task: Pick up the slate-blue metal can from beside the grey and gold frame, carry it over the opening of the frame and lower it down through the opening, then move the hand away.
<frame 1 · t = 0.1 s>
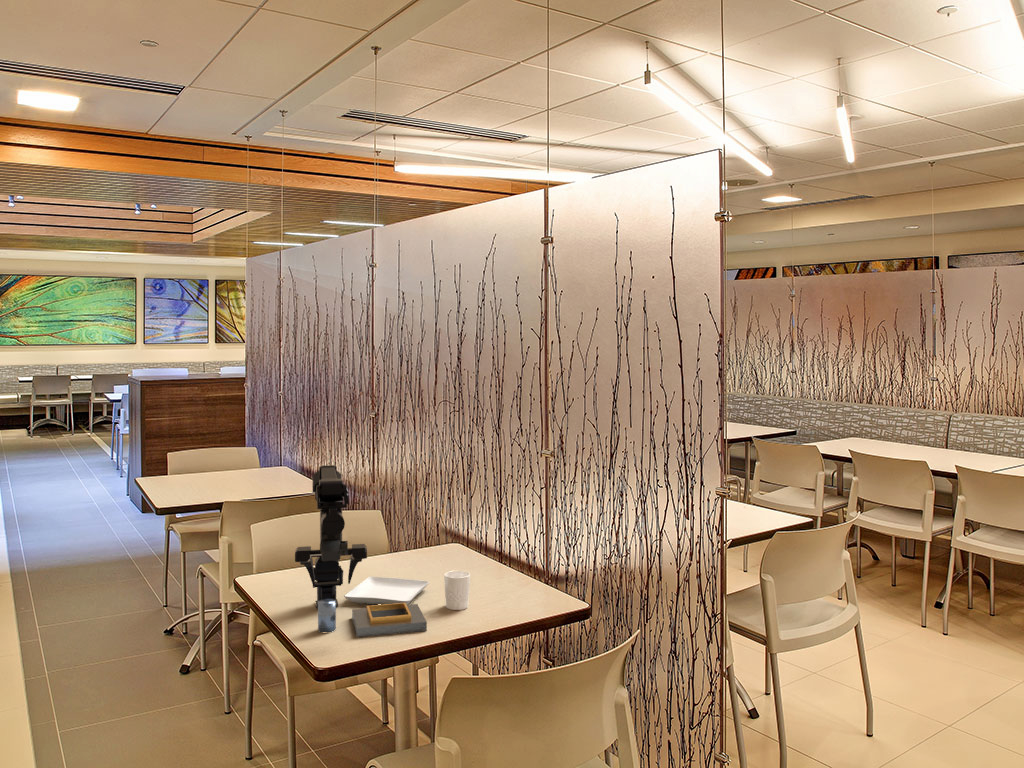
hand: (331, 584, 209), 14 cm above the table, tool pointing down, fingers open, 9 cm apart
white cup: (457, 607, 235), on the table
salad plate: (388, 598, 244), on the table
can: (326, 630, 215), on the table
grey and gold frame: (388, 624, 219), on the table
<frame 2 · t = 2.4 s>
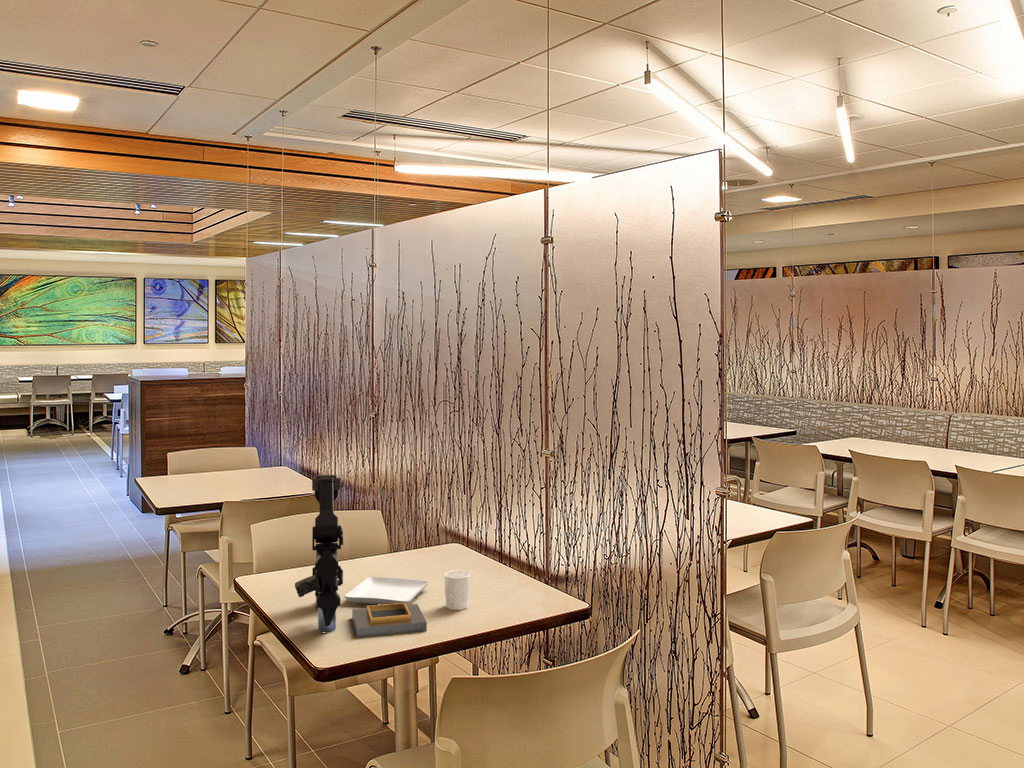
hand: (326, 622, 214), 2 cm above the table, tool pointing down, fingers closed on can, 5 cm apart
can: (326, 630, 215), on the table, touching gripper
everything else where it was.
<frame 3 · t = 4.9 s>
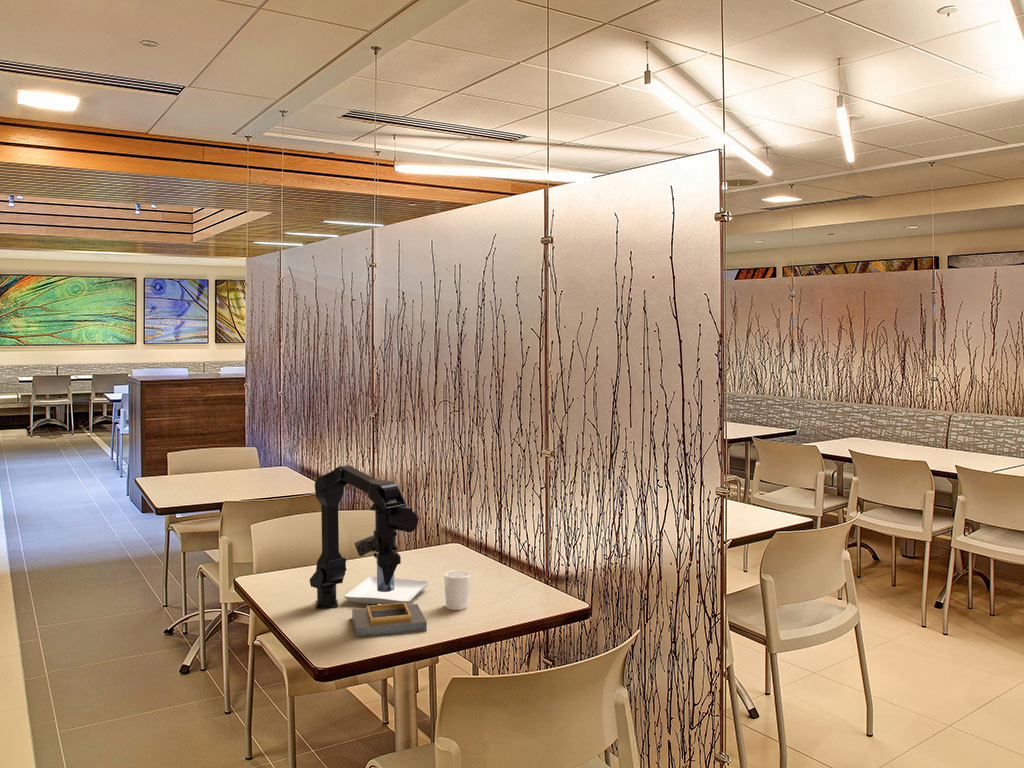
hand: (385, 582, 218), 12 cm above the table, tool pointing down, fingers closed on can, 5 cm apart
can: (385, 589, 218), point 10 cm above the table, touching gripper
everything else where it was.
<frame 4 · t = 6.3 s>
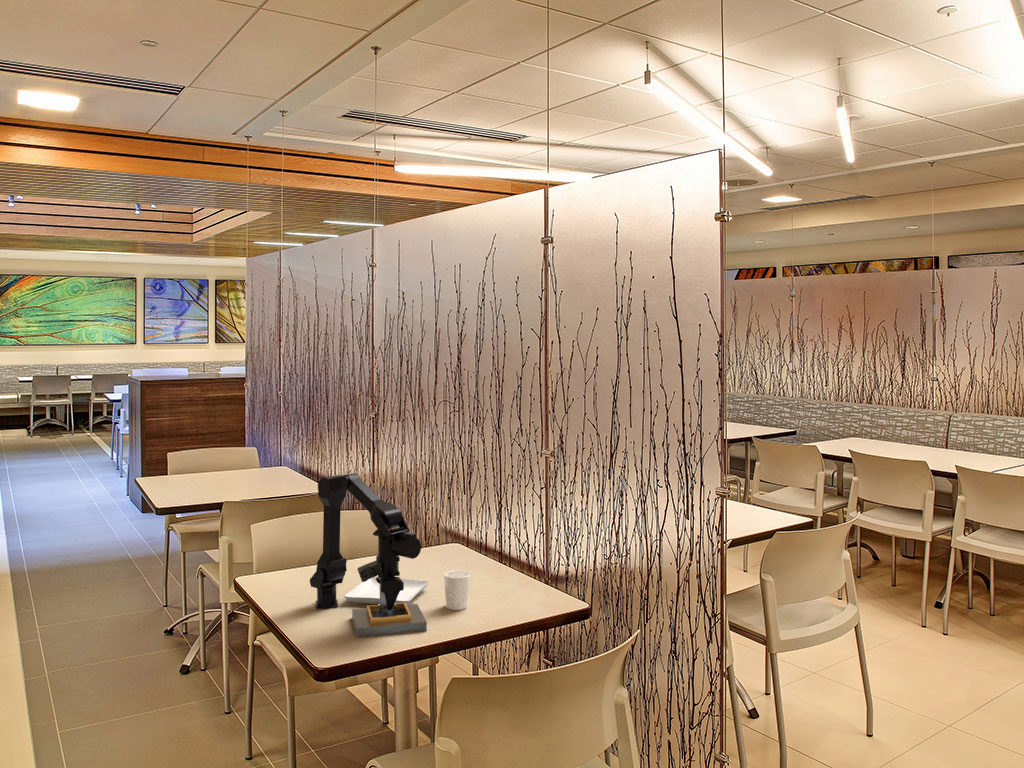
hand: (388, 607, 219), 5 cm above the table, tool pointing down, fingers closed on can, 5 cm apart
can: (388, 614, 219), point 3 cm above the table, touching gripper
everything else where it was.
when the fingers open (4 cm above the table, at t = 7.2 s): can drops 2 cm, resting in grey and gold frame.
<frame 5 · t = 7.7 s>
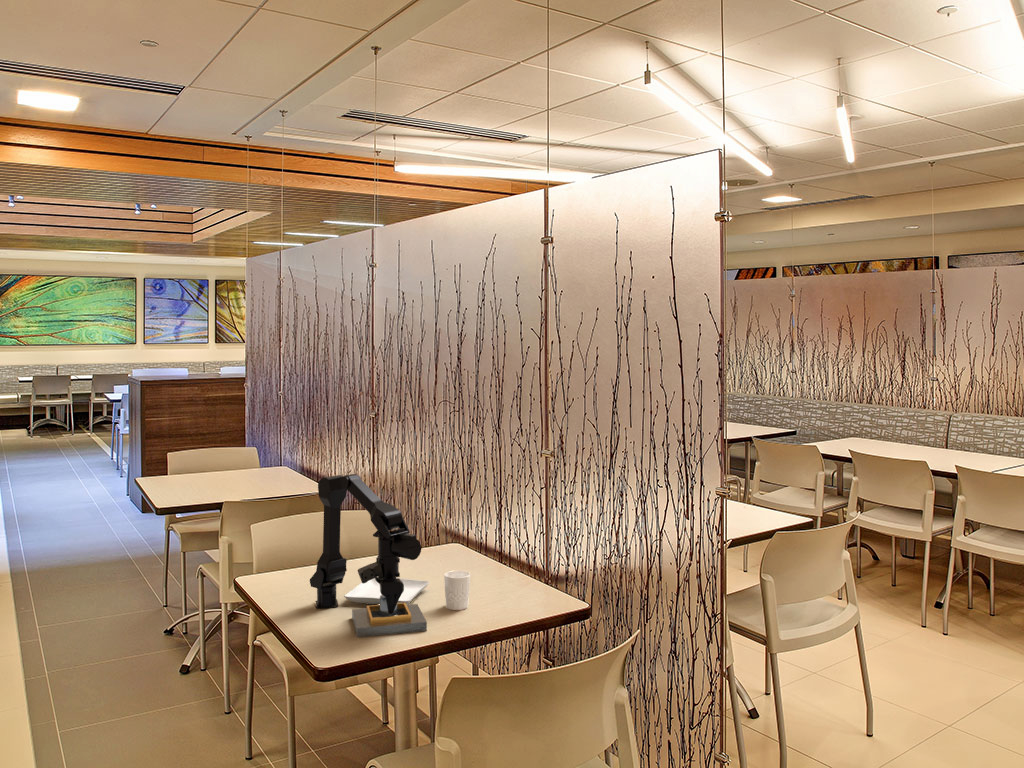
hand: (388, 608, 219), 4 cm above the table, tool pointing down, fingers open, 9 cm apart
can: (388, 624, 219), resting in grey and gold frame
everything else where it was.
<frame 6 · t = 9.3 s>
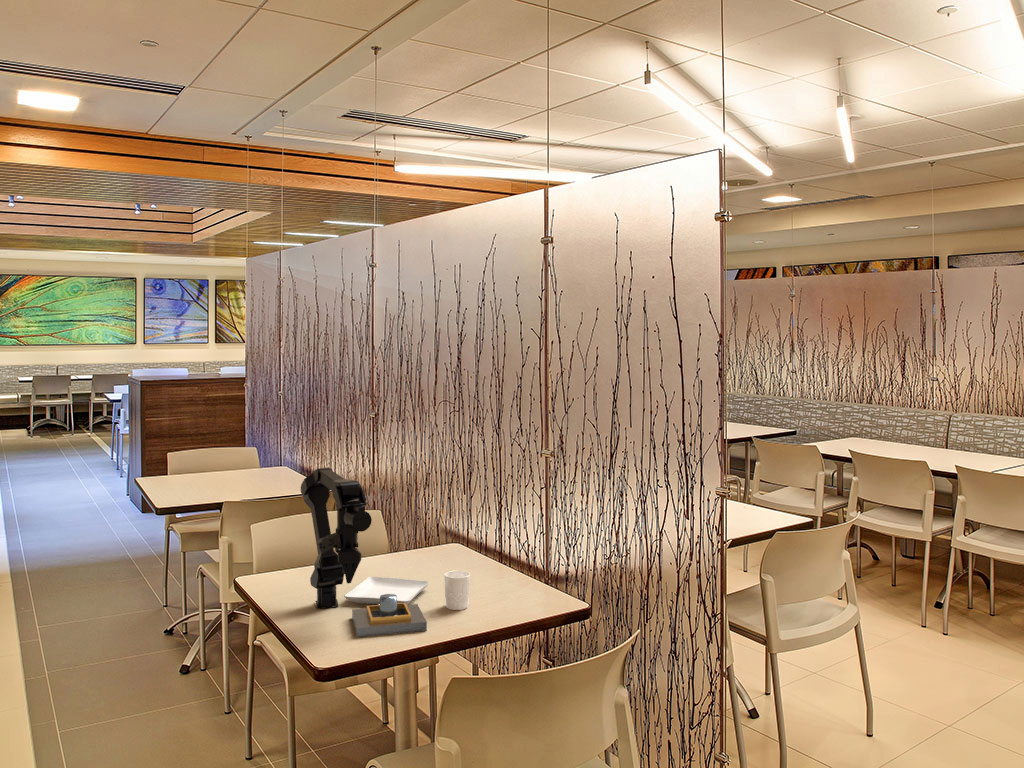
hand: (347, 578, 222), 12 cm above the table, tool pointing down, fingers open, 9 cm apart
nothing on the table moved.
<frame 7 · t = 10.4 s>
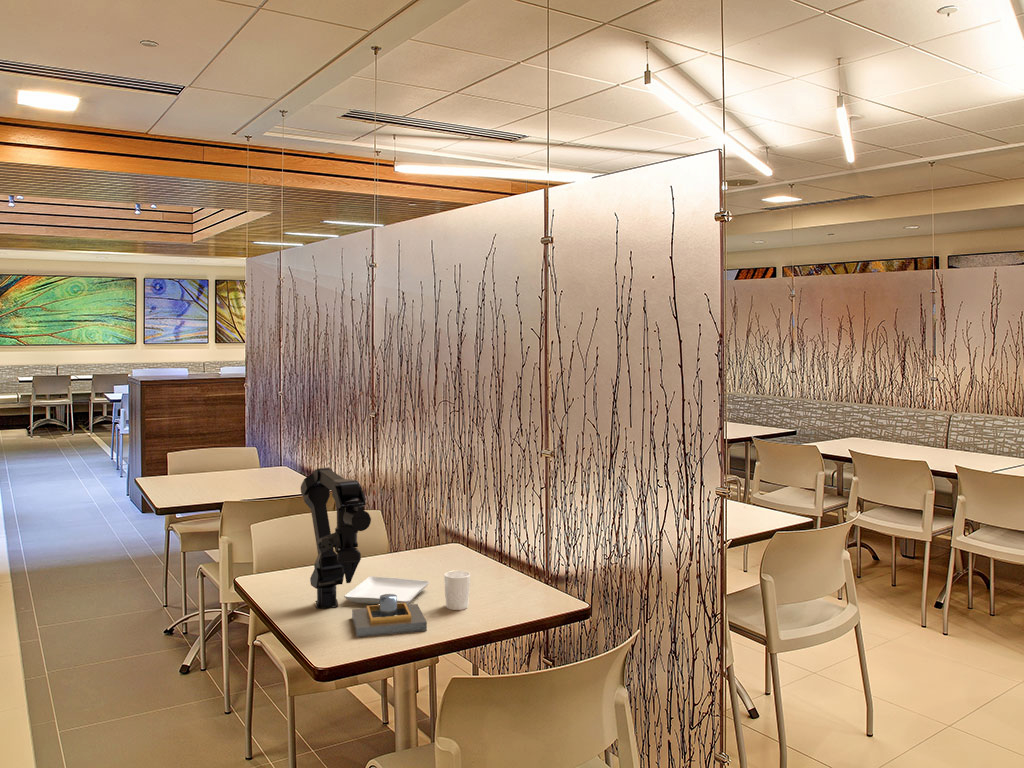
hand: (347, 578, 222), 12 cm above the table, tool pointing down, fingers open, 9 cm apart
nothing on the table moved.
at the end: can 0.1 cm off-centre on the grey and gold frame, point 0.0 cm above the grey and gold frame's base; can tilted 0°; the gripper is holding nothing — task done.
